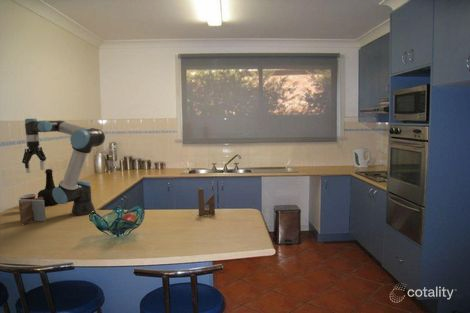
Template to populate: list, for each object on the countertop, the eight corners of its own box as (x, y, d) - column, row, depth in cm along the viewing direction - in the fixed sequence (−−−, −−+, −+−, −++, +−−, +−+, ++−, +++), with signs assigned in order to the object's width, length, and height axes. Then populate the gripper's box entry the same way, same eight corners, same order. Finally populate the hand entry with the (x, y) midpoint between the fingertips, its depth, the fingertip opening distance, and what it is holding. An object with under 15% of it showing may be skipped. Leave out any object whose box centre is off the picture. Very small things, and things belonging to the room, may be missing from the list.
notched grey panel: (45, 220, 234) (44, 200, 232) (43, 221, 232) (41, 200, 230) (23, 219, 238) (21, 199, 236) (20, 220, 236) (18, 200, 234)
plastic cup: (19, 211, 261) (18, 195, 260) (36, 208, 268) (34, 192, 266) (21, 214, 253) (20, 197, 251) (38, 211, 259) (37, 195, 258)
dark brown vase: (39, 203, 286) (36, 168, 283) (63, 200, 293) (61, 166, 290) (37, 208, 270) (34, 171, 267) (63, 205, 277) (60, 169, 274)
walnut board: (44, 217, 243) (43, 197, 242) (23, 224, 226) (21, 203, 224) (42, 217, 243) (40, 196, 242) (21, 224, 226) (19, 203, 225)
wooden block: (215, 214, 238) (214, 188, 236) (198, 215, 237) (197, 189, 235) (214, 213, 242) (213, 187, 240) (198, 214, 240) (197, 188, 238)
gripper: (40, 139, 258) (43, 168, 260) (13, 142, 233) (17, 174, 236) (50, 139, 256) (52, 168, 259) (23, 142, 232) (27, 174, 234)
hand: (35, 171), depth 247 cm, fingers open, 13 cm apart
